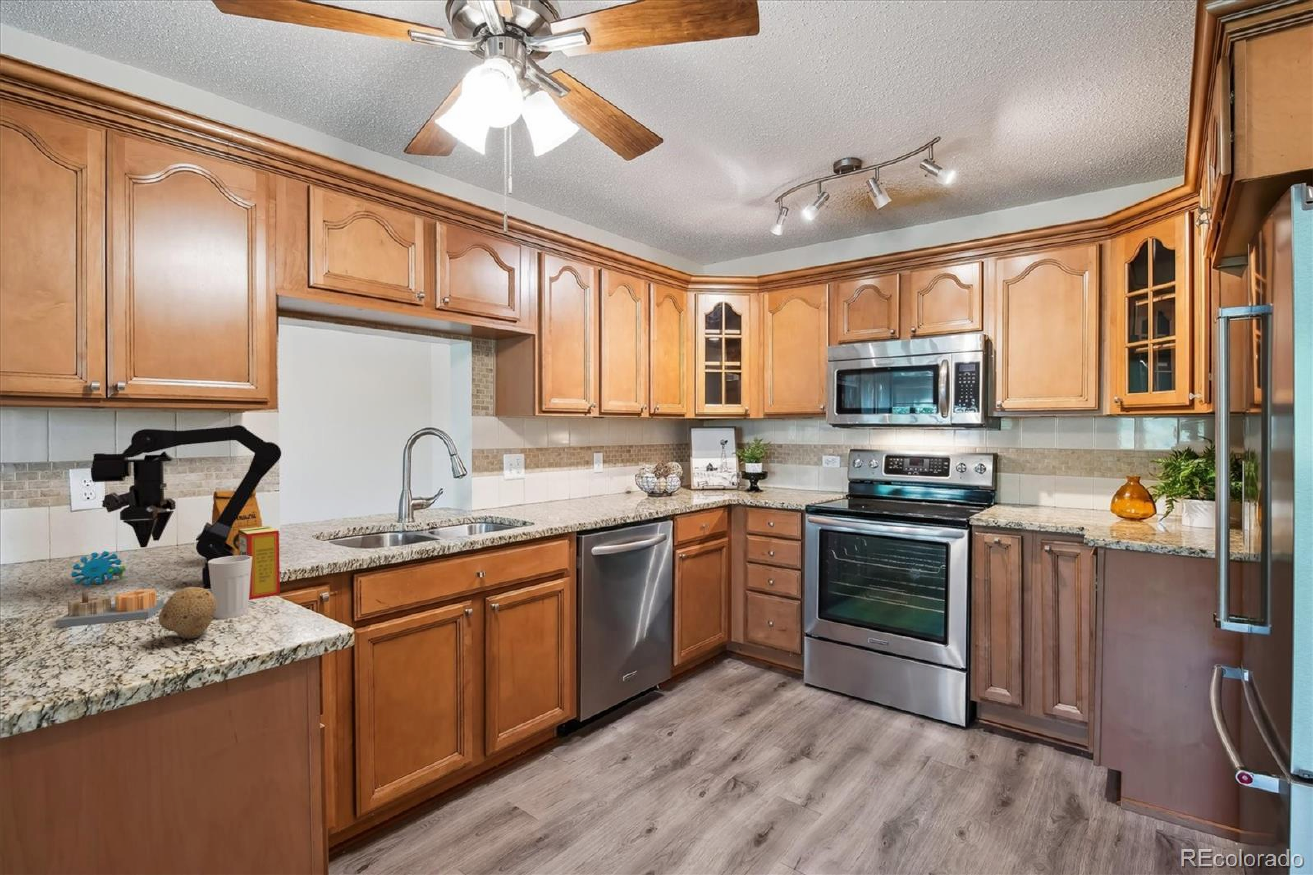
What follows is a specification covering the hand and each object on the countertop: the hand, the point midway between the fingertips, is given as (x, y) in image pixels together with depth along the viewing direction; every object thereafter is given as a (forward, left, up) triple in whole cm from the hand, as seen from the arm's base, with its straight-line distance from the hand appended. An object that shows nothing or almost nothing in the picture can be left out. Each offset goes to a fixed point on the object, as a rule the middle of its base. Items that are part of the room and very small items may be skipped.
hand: (150, 543), depth 154 cm
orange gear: (-3, +20, -10) cm, 23 cm away
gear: (+16, -17, -12) cm, 26 cm away
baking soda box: (-25, +11, -12) cm, 30 cm away
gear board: (+1, +20, -12) cm, 23 cm away
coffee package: (-13, -28, -12) cm, 33 cm away
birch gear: (+5, +20, -10) cm, 23 cm away
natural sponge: (-18, +43, -12) cm, 48 cm away
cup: (-22, +28, -12) cm, 37 cm away
